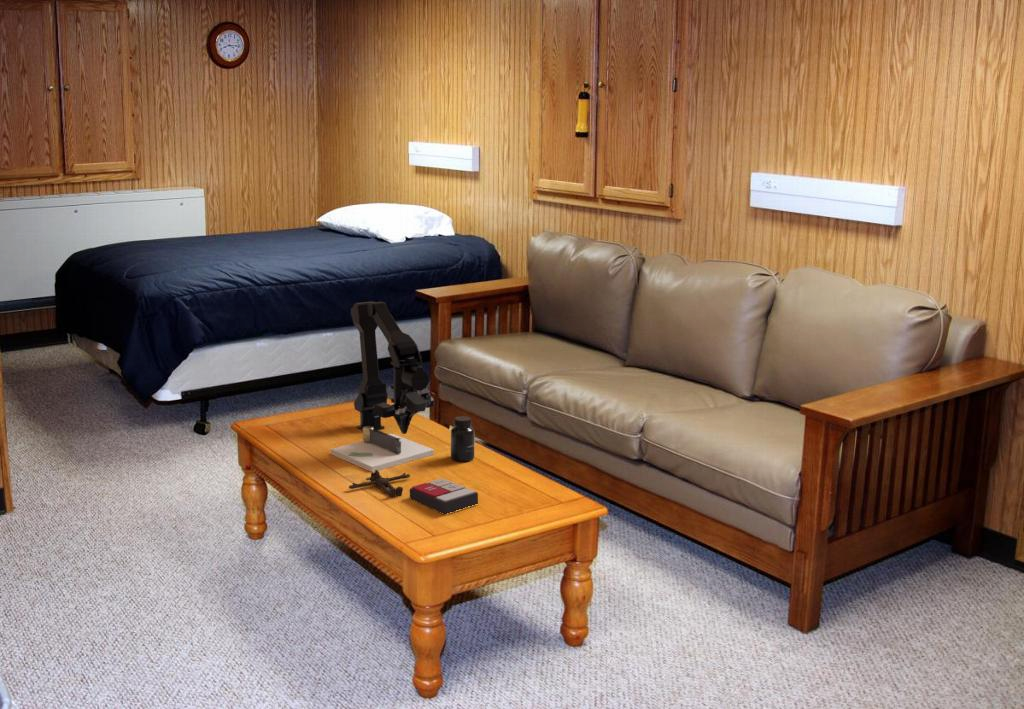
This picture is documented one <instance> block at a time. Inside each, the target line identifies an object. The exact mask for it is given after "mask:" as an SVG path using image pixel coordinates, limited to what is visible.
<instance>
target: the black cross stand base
mask: <svg viewBox="0 0 1024 709" xmlns="http://www.w3.org/2000/svg"><path fill="white" fill-rule="evenodd" d="M410 477H411V475H410V473H409V474H408V473H407V474H406V472H403V473H402V474H401V475H396V476H392V477H383V476H382V475H381V474H380V471H379V470H378V471H377V470H375V472H371V473H370V477H365V480H366V481H367V482H361V483H355V482H352V485H351V484H350V485H349V486H348V489H349V490H353V489H358V488H363V487H368V486H374V485H375V486H376V487H378V488H379V489H380V490H382V491H383V492H384V493H385V494H386V495H387V496H389V497H390V498H391V499H393V497H394V498H396V497H398V496H399V497H402V495H403V491H404V488H403V487H402V486H397V487H396V488H395V487H394V486H393V485H392V484H390V483H391V482H393V481H398V480H403V479H408V478H410Z"/></svg>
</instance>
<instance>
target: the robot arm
mask: <svg viewBox="0 0 1024 709" xmlns="http://www.w3.org/2000/svg"><path fill="white" fill-rule="evenodd" d="M350 315H351V318H352V323H353V325H354V326H355V329H357V331H358V333H359V343H360V346H359V347H360V354H361V355H360V357H361V367H362V381H361V382H360V384H359V386H358V395H357V397H356V398H355V400H354V402H353V406H354V407H353V408H354V410H355V411H357V412H359V413H360V414H359V415H360V416H359V418H360V419H359V420H360V423H359V424H360V425H356V427H355V428H357V429H359V430H361V431H363V427H365V426H372V427H374V429H376V430H378V431H381V430H383V429H385V426H384V425H382V419H387V418H392V417H393V418H394V419H395V420H394V421H395V422H396V424H397V426H398V428H399V429H400V433H401V434H402V435H405V434H407V432H408V430H409V426H410V425H411V422H412V419H413V417H414V416H415V415H416V414H418V413H421V412H426V408H427V409H428V408H432V407H435V398H433V396H432V395H431V394H430V393H429V392H422V393H418V391H423V390H425V389H426V388H427V387H428V385H429V383H430V377H429V375H428V372H426V371H424V368H423V366H421V365H423V360H422V359H423V356H422V354H421V352H420V350H419V347H418V345H417V343H416V341H415V340H414V339H413V338H412V337H411V336H410V335H409V334H407V333H404V332H403V331H402V330H401V328H400V327H399V325H398V323H397V322H396V320H395V318H394V317H393V315H392V314H391V312H390V311H389V310H388V305H387V303H386V302H384V301H378V302H375V301H374V300H373V301H367V302H365V301H364V302H356V303H354V304H353V306H352V307H351V308H350ZM377 328H379V330H380V331H381V333H382V334H383V336H384V337H385V339H386V342H387V343H388V344H387V351H388V353H389V354H388V355H389V357H390V358H391V360H392V361H390V365H391V366H393V384H390V389H392V390H393V398H391V399H390V402H391V403H393V404H389V403H387V402H388V393H387V384H386V383H385V382H383V381H382V380H381V378H380V372H379V371H380V370H379V360H378V348H377V347H378V346H377V336H376V330H377Z"/></svg>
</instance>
